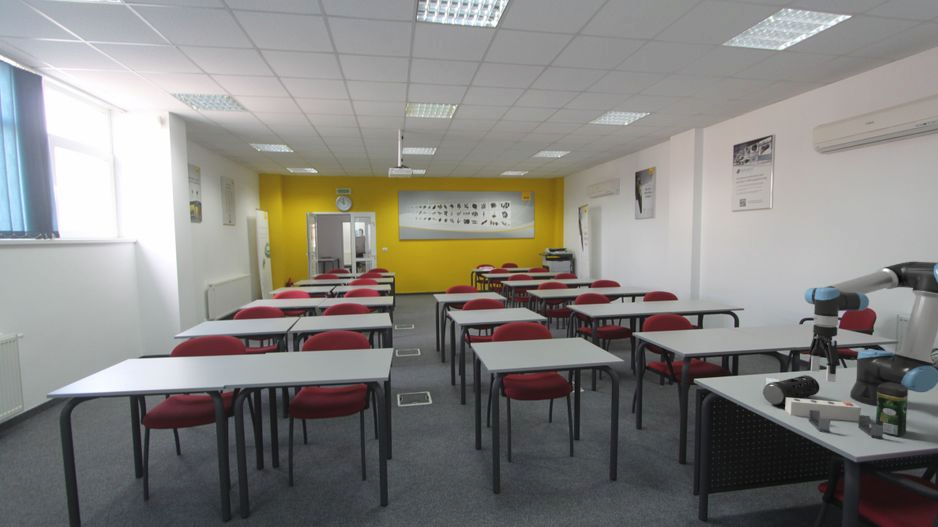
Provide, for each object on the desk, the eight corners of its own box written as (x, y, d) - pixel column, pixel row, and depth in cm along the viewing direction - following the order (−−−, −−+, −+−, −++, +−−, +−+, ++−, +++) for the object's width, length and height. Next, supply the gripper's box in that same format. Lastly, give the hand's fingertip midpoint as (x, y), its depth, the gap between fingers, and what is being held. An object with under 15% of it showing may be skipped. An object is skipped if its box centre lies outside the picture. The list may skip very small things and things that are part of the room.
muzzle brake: (819, 400, 191) (820, 378, 190) (783, 411, 179) (784, 387, 178) (796, 393, 200) (797, 372, 199) (760, 403, 188) (761, 380, 187)
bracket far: (817, 422, 168) (818, 410, 167) (829, 432, 159) (829, 419, 159) (808, 421, 169) (809, 409, 168) (819, 431, 160) (820, 418, 160)
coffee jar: (879, 424, 166) (882, 378, 165) (907, 432, 159) (911, 384, 158) (871, 430, 161) (874, 383, 160) (901, 439, 154) (904, 389, 153)
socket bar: (852, 417, 174) (853, 401, 173) (859, 422, 169) (860, 406, 168) (784, 411, 180) (785, 395, 179) (790, 415, 175) (791, 400, 174)
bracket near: (867, 428, 163) (868, 415, 162) (882, 439, 154) (883, 425, 154) (858, 427, 164) (859, 414, 163) (872, 437, 155) (872, 424, 155)
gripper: (801, 319, 185) (798, 366, 186) (829, 330, 162) (826, 385, 163) (822, 320, 183) (819, 368, 184) (853, 332, 159) (850, 387, 160)
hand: (822, 376), depth 173 cm, fingers open, 13 cm apart
